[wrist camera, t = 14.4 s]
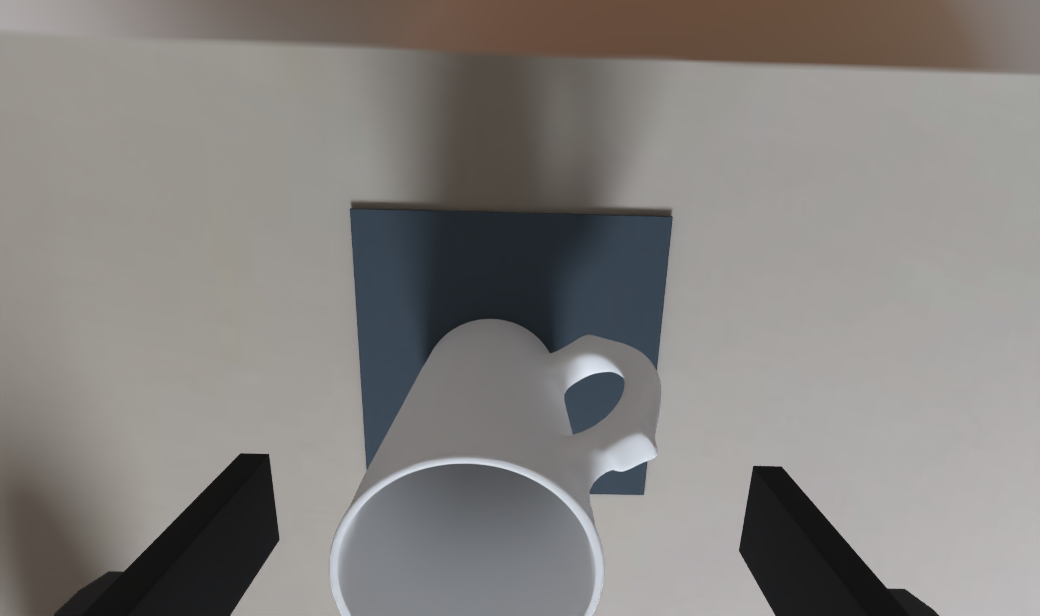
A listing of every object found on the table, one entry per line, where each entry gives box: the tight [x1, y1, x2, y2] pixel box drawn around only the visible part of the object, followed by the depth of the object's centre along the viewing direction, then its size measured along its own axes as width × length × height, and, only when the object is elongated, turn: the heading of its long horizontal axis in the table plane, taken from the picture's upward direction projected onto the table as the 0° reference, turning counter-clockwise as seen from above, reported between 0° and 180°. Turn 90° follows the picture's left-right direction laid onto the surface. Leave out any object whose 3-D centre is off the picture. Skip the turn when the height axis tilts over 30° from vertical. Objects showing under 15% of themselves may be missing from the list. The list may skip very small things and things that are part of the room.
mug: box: [329, 319, 661, 616], centre depth 18 cm, size 10×7×12 cm, turn 123°
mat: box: [350, 209, 673, 495], centre depth 24 cm, size 14×14×1 cm
